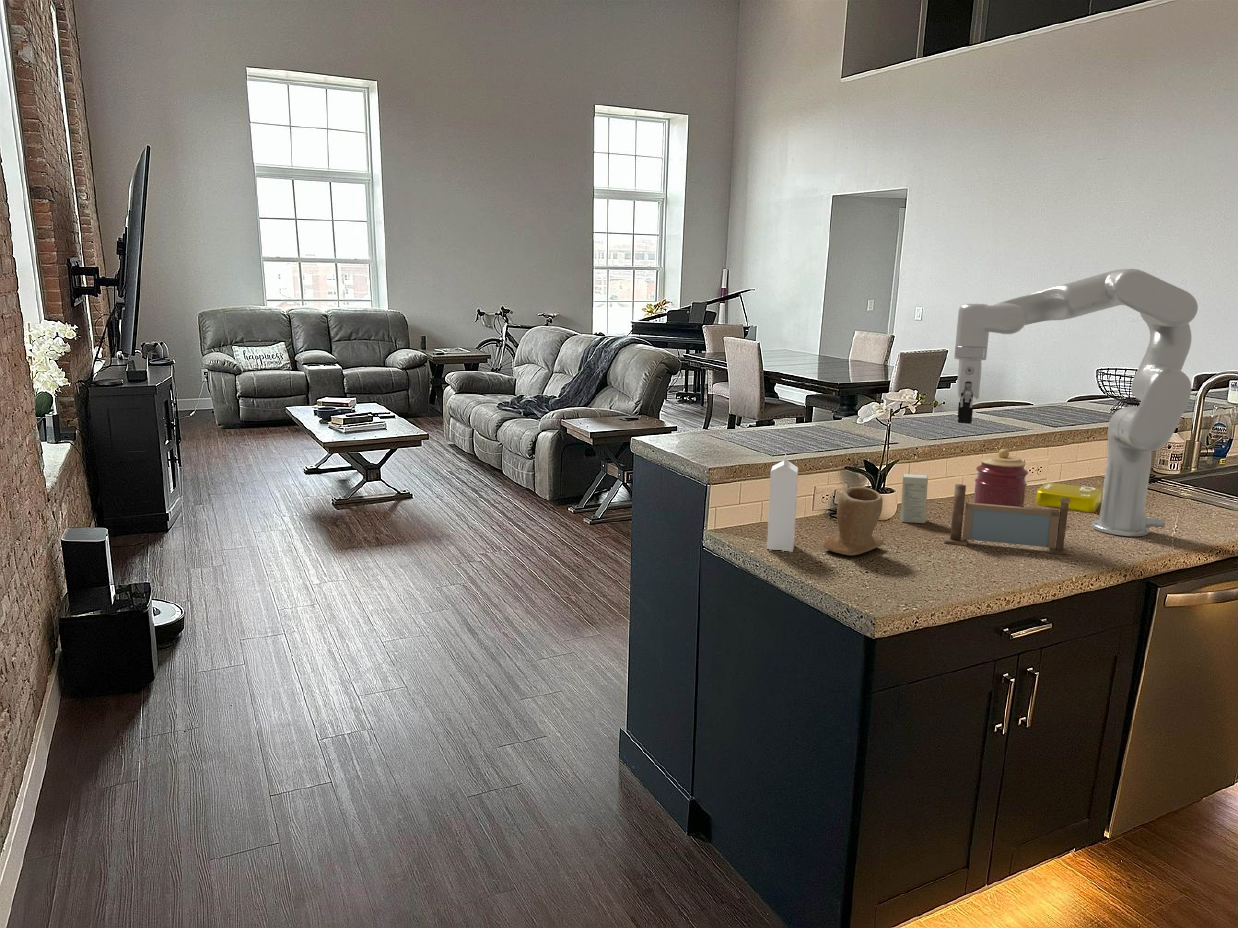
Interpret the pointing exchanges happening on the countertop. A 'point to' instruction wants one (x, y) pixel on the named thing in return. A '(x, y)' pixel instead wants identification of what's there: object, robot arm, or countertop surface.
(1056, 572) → the countertop surface
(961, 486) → the gate frame
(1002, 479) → the canister
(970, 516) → the panel
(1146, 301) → the robot arm
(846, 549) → the stone cup
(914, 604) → the countertop surface
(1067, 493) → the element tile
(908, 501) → the skincare box
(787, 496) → the milk
